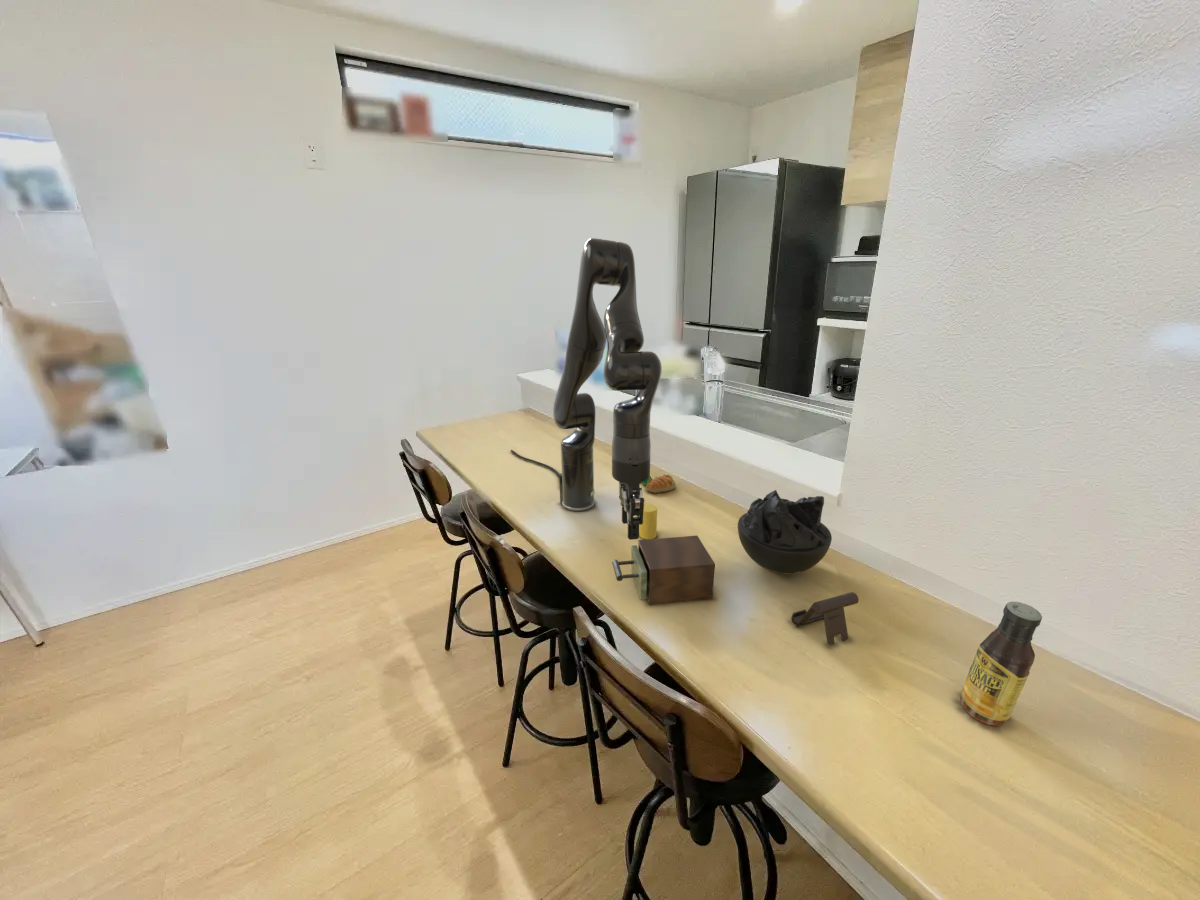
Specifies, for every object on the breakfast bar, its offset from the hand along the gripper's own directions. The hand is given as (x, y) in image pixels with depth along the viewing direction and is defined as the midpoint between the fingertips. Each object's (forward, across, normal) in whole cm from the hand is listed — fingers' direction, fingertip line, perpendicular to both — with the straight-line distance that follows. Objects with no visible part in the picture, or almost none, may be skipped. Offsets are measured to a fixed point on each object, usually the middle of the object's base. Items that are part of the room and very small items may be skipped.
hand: (630, 530), depth 102 cm
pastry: (+15, -50, +20) cm, 55 cm away
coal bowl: (+15, -4, +36) cm, 39 cm away
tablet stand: (+15, +18, +35) cm, 42 cm away
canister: (+15, -22, +9) cm, 28 cm away
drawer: (+14, 0, +5) cm, 15 cm away
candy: (+15, -58, +14) cm, 61 cm away
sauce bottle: (+15, +39, +49) cm, 64 cm away
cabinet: (+15, 0, +10) cm, 18 cm away
